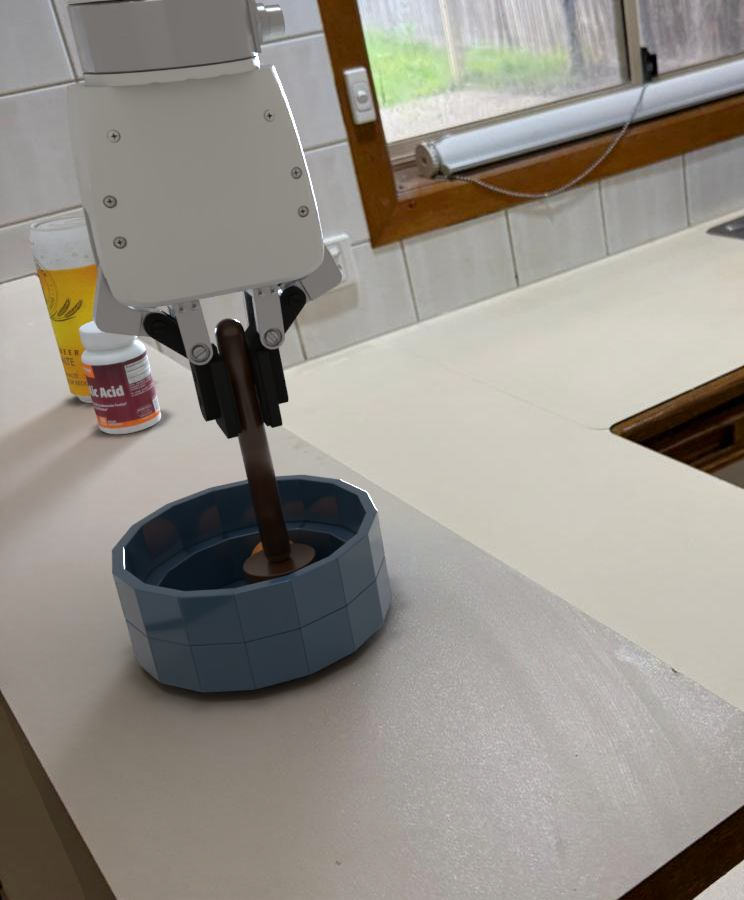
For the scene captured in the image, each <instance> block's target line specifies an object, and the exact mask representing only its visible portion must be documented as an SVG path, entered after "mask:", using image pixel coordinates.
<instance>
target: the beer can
mask: <svg viewBox="0 0 744 900" xmlns="http://www.w3.org/2000/svg"><path fill="white" fill-rule="evenodd" d="M28 243H29V247H30V251H31V254H32V258H33V262H34V265H35V268H36V272H37V276H38V279H39V283H40V287H41V290H42V294H43V298H44V302H45V305H46V308H47V312H48V313H47V314H48V316H49V320H50V323H51V327H52V331H53V335H54V337H55V342H56V345H57V349H58V352H59V356H60V359H61V364H62V368H63V370H64V375H65V377H66V382H67V384H68V389H69V392H70V393H71V394H72V395H74V396H76V397H77V398H78V399H79V401H80V402H83V403H86V404H87V403H88V404H93V402H92V399H91V395H90V391H89V387H88V383H87V380H86V376H85V372H84V368H83V364H82V360H81V356H82V353H83V352H84V351H85V350H86V349H87V348H84V347H83V344H82V343H81V338H80V333H79V328H80V327H81V326H82V325H84V324H86V323H89V322H91V321H94V320H93V317H92V313H93V305H94V297H95V289H96V281H97V274H98V270H97V267H96V264H95V261H94V257H93V253H92V249H91V245H90V241H89V236H88V232H87V227H86V222H85V218H84V213H76V214H75V213H73V214H66V215H59V216H55V217H49V218H44V219H42V220H41V219H40V220H39V221H36V222H33V223H31V225H30V233H29V238H28Z"/></svg>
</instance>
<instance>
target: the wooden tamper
mask: <svg viewBox="0 0 744 900" xmlns="http://www.w3.org/2000/svg"><path fill="white" fill-rule="evenodd" d="M214 337H215V342H216V347H217V349H218V353H219V355H220V356H221V357H222V358H223V359H224V360H225V361H226V363H227V366H228V370H229V374H230V379H231V383H232V388H233V393H234V397H235V402H236V407H237V411H238V416H239V420H240V425H241V430H242V433H239V434H238V435H239V436H238V437H237V439H238V443H239V444H238V445H239V449H240V452H241V458H242V462H243V467H244V470H245V475H246V480H248V485H249V489H250V493H251V498H252V502H253V507H254V511H255V516H256V520H257V525H258V529H259V533H260V538H261V542H262V547H263V550H261V551H259V552H257V553H255V554H253V555H252V556H250V557H249V558H248V559H247V560H246V561H245V562H244V565H243V571H244V575H245V579H246V584H247V585H250V584H254V583H258V582H263V581H267V580H271V579H275V578H279V577H283V576H287V575H289V574H291V573H293V572H296V571H298V570H300V569H302V568H304V567H307V566H309V565H311V564H313V563H315V562H318V561H317V557H316V552H315V550H314V549H313V548H312V547H311V546H309V545H306V544H299V543H290V541H289V537H288V532H287V527H286V523H285V518H284V513H283V509H282V504H281V499H280V495H279V490H278V485H277V481H276V476H277V475H276V472H275V467H274V463H273V458H272V453H271V449H270V448H271V447H270V442H269V440H268V435H267V430H266V426H265V425H266V424H265V423H264V422H263V418H262V413H261V408H260V404H259V399H258V394H257V390H256V385H255V381H254V376H253V371H252V367H251V362H250V358H249V353H248V346H247V341H246V336H245V328H244V326H243V324H242V323H241V322H240V321H239V320H237V319H236V318H231V317H230V318H229V317H228V318H223V319H221V320H220V321H218V322H217V323H216V325H215V327H214Z"/></svg>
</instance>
